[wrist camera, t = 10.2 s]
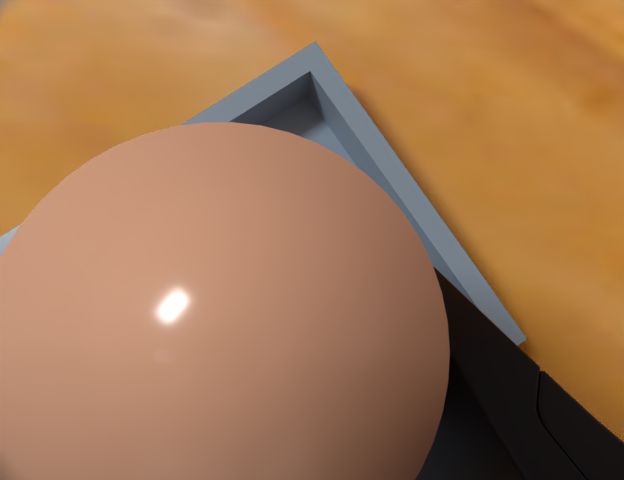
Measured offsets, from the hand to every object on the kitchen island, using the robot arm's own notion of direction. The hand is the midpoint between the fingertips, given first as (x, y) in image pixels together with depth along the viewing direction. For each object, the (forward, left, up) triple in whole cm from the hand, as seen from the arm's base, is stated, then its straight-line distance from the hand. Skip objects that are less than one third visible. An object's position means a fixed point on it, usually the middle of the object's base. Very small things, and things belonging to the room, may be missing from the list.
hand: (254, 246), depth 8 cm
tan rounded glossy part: (-1, +1, -7) cm, 7 cm away
